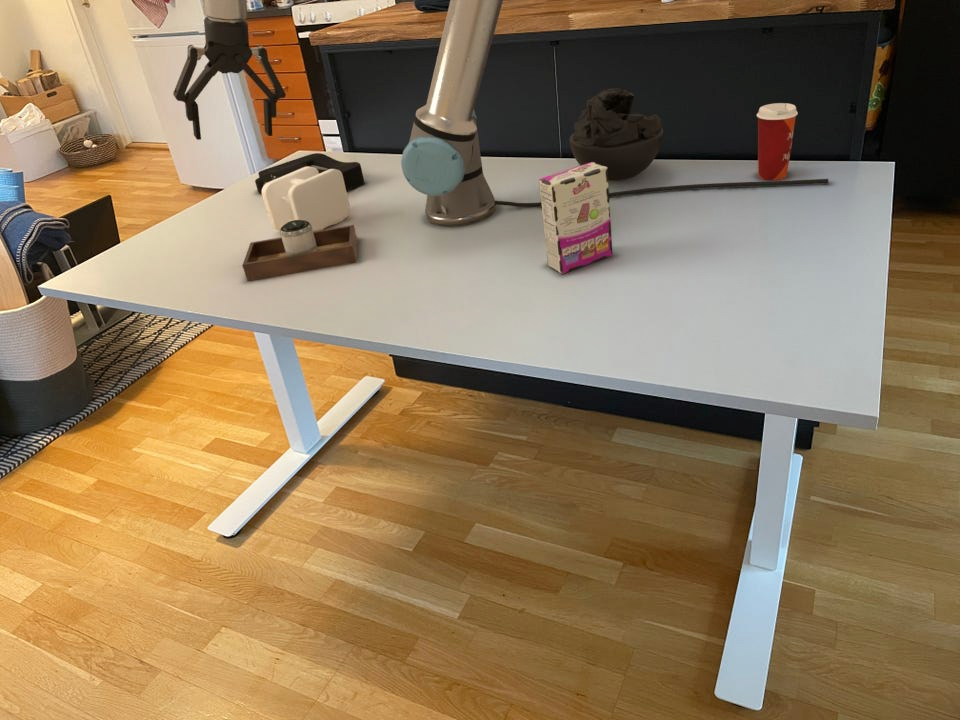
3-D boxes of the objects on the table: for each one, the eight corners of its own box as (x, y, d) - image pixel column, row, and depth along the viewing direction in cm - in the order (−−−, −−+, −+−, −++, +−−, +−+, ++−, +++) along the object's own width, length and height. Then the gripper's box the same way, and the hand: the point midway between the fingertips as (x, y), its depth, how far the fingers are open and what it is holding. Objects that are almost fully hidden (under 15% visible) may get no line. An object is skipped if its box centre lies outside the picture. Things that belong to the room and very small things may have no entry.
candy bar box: (597, 247, 137) (592, 160, 129) (613, 256, 133) (609, 166, 125) (545, 266, 134) (537, 177, 125) (560, 275, 130) (553, 184, 121)
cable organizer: (302, 242, 160) (287, 190, 154) (272, 235, 166) (257, 184, 160) (353, 216, 169) (341, 166, 163) (323, 210, 175) (310, 162, 169)
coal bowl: (646, 158, 176) (644, 75, 166) (676, 184, 159) (677, 93, 149) (563, 173, 175) (557, 90, 165) (585, 201, 158) (579, 110, 148)
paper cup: (797, 179, 152) (804, 109, 145) (759, 184, 153) (763, 114, 146) (784, 167, 159) (790, 100, 152) (748, 172, 160) (751, 105, 152)
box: (357, 240, 157) (353, 224, 155) (356, 262, 147) (352, 245, 145) (255, 257, 156) (250, 242, 154) (247, 281, 146) (242, 265, 144)
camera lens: (295, 269, 148) (284, 232, 144) (284, 260, 152) (273, 224, 148) (324, 259, 150) (314, 222, 146) (313, 250, 155) (303, 215, 151)
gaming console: (254, 192, 195) (246, 165, 191) (318, 169, 205) (311, 143, 202) (306, 210, 177) (299, 181, 173) (373, 184, 187) (367, 156, 184)
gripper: (287, 15, 142) (290, 126, 154) (147, 11, 130) (162, 132, 142) (300, 24, 137) (302, 138, 149) (155, 21, 125) (169, 145, 137)
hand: (233, 135), depth 145 cm, fingers open, 13 cm apart
